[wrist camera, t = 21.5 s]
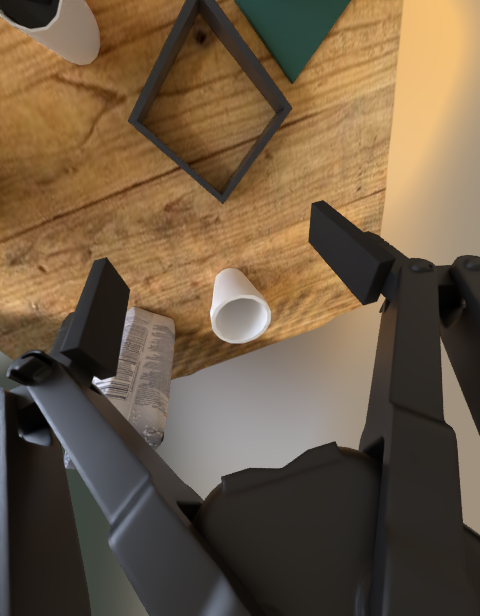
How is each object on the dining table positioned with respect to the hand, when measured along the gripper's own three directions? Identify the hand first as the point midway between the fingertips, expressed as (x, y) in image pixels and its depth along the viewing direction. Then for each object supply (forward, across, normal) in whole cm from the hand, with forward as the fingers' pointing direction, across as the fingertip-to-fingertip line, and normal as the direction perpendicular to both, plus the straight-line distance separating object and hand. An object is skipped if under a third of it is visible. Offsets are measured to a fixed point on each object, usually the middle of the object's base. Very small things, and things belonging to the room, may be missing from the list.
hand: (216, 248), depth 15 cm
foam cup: (+22, +1, -22) cm, 31 cm away
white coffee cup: (+29, -9, +13) cm, 33 cm away
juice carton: (+21, -18, -26) cm, 38 cm away
